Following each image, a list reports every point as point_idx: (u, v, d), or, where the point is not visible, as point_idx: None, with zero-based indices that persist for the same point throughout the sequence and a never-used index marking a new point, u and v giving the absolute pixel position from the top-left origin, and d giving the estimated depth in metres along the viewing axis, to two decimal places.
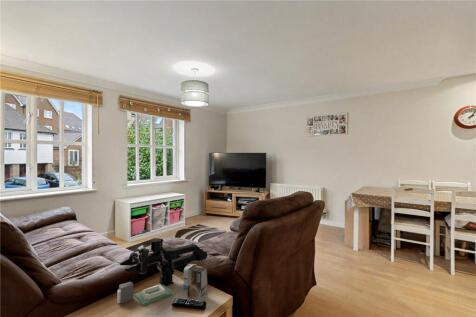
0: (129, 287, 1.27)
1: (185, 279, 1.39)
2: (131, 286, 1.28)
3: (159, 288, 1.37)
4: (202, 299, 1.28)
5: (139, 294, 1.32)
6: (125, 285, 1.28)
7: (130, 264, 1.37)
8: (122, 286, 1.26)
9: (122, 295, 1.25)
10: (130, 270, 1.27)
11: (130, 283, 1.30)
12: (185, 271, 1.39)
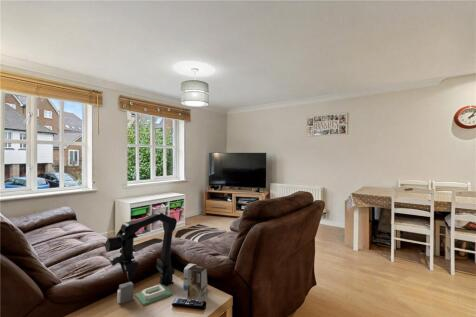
0: (129, 287, 1.27)
1: (185, 279, 1.39)
2: (131, 286, 1.28)
3: (159, 288, 1.37)
4: (202, 299, 1.28)
5: (139, 294, 1.32)
6: (125, 285, 1.27)
7: None
8: (122, 286, 1.26)
9: (122, 295, 1.25)
10: (131, 275, 1.25)
11: (130, 283, 1.30)
12: (185, 271, 1.39)
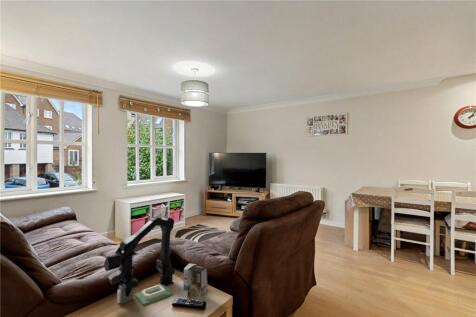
0: None
1: (185, 279, 1.39)
2: None
3: (159, 288, 1.37)
4: (202, 299, 1.28)
5: (139, 294, 1.32)
6: None
7: None
8: (122, 286, 1.26)
9: (122, 295, 1.25)
10: (129, 291, 1.26)
11: None
12: (185, 271, 1.39)
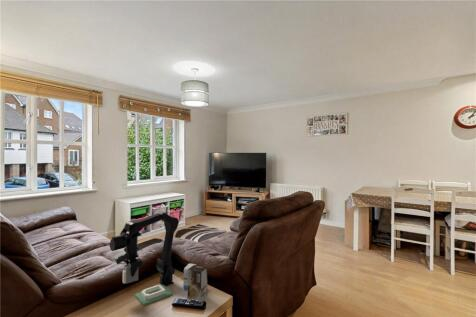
0: None
1: (185, 279, 1.39)
2: None
3: (159, 288, 1.37)
4: (202, 299, 1.28)
5: (139, 294, 1.32)
6: None
7: None
8: (127, 266, 1.27)
9: (128, 275, 1.26)
10: (134, 272, 1.27)
11: None
12: (185, 271, 1.39)
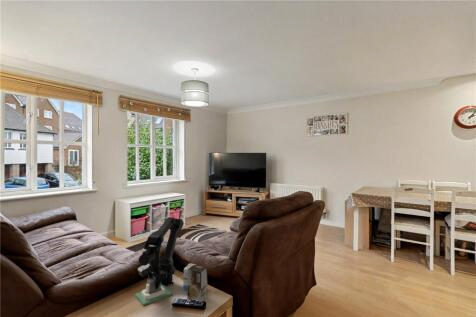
0: None
1: (185, 279, 1.39)
2: None
3: None
4: (202, 299, 1.28)
5: (139, 294, 1.32)
6: None
7: None
8: (150, 280, 1.31)
9: (151, 288, 1.30)
10: (158, 284, 1.30)
11: None
12: (185, 271, 1.39)
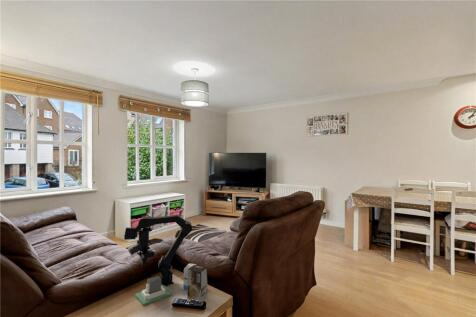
0: (157, 281, 1.32)
1: (185, 279, 1.39)
2: (159, 280, 1.33)
3: None
4: (202, 299, 1.28)
5: (139, 294, 1.32)
6: (153, 279, 1.32)
7: None
8: (150, 280, 1.31)
9: (151, 288, 1.30)
10: (145, 261, 1.43)
11: (157, 277, 1.34)
12: (185, 271, 1.39)
